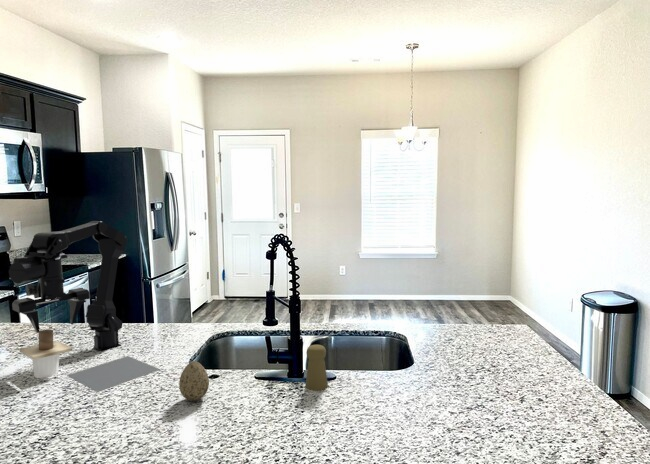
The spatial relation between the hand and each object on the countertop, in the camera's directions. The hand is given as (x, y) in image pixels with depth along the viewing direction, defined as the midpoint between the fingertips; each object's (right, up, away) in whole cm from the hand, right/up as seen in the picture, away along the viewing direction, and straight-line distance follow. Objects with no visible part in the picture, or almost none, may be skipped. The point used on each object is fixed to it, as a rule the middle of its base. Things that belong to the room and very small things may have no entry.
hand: (55, 328), depth 128 cm
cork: (+77, -13, -12) cm, 79 cm away
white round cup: (-1, -13, -3) cm, 13 cm away
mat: (+19, -13, -3) cm, 23 cm away
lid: (-1, -6, -3) cm, 7 cm away
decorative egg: (+46, -14, -19) cm, 52 cm away
